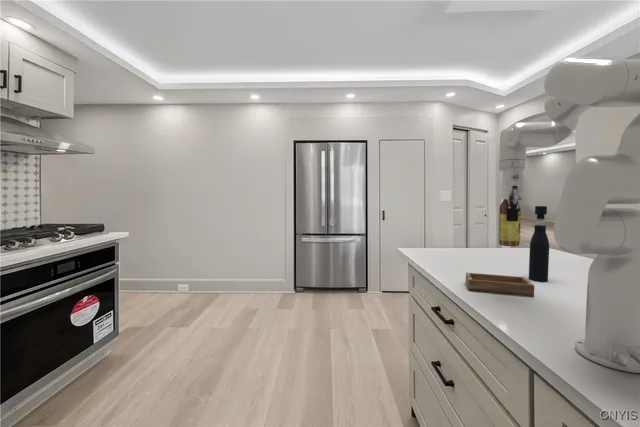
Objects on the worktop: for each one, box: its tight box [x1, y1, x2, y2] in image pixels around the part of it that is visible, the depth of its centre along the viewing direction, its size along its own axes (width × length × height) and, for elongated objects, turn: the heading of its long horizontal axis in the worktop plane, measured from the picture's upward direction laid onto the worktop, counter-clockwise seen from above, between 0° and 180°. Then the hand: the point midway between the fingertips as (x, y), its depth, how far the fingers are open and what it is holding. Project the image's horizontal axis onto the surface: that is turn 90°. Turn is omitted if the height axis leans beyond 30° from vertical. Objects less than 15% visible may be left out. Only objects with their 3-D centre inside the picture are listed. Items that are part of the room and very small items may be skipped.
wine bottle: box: [528, 205, 550, 283], centre depth 125 cm, size 6×6×30 cm
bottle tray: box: [465, 272, 535, 298], centre depth 114 cm, size 11×20×4 cm, turn 70°
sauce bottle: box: [498, 196, 522, 247], centre depth 104 cm, size 6×6×20 cm
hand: (509, 219), depth 104 cm, fingers closed on sauce bottle, 6 cm apart
